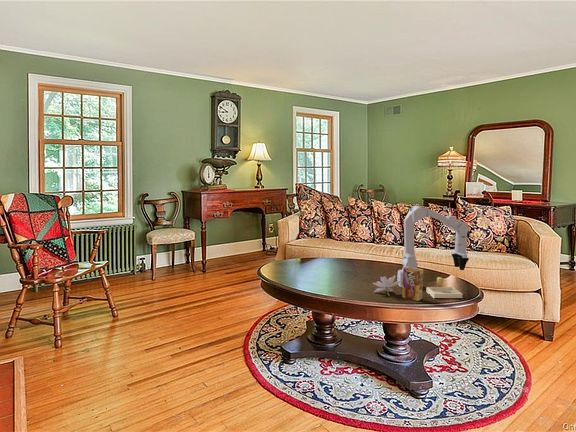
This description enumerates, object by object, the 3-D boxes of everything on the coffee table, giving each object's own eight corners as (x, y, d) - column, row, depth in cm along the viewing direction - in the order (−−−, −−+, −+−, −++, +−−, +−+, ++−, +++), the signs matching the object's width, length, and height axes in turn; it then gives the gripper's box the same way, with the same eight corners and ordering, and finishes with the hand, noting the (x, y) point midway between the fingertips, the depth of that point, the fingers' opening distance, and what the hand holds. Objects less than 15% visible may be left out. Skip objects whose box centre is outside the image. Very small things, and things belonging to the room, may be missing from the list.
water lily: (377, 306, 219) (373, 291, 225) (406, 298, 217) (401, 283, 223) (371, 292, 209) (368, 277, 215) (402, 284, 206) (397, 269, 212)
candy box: (422, 299, 209) (423, 269, 207) (418, 301, 206) (419, 270, 204) (405, 295, 215) (407, 266, 213) (401, 297, 212) (403, 267, 210)
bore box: (434, 298, 210) (434, 293, 210) (426, 291, 222) (426, 286, 222) (462, 298, 211) (462, 293, 210) (452, 291, 222) (452, 287, 222)
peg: (437, 289, 226) (438, 278, 225) (435, 288, 229) (436, 277, 228) (443, 289, 226) (444, 278, 225) (441, 288, 229) (442, 277, 228)
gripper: (473, 246, 223) (471, 271, 225) (463, 241, 238) (461, 265, 239) (459, 246, 224) (458, 271, 225) (450, 241, 238) (449, 265, 239)
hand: (459, 268), depth 232 cm, fingers open, 7 cm apart
